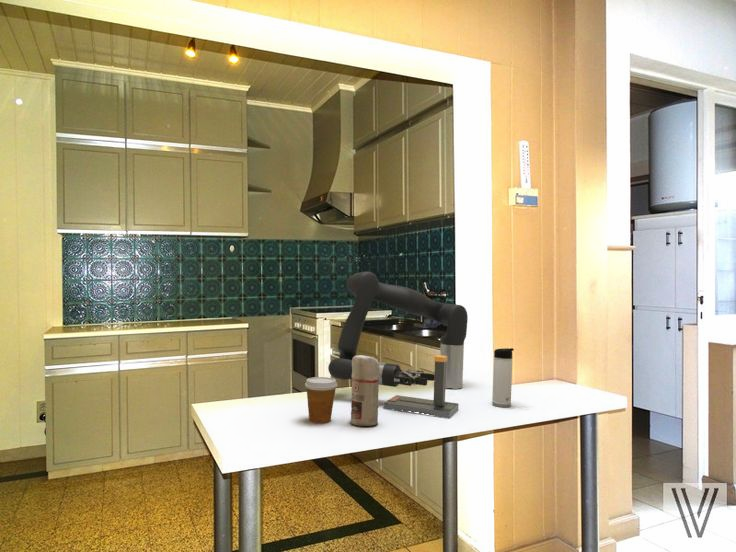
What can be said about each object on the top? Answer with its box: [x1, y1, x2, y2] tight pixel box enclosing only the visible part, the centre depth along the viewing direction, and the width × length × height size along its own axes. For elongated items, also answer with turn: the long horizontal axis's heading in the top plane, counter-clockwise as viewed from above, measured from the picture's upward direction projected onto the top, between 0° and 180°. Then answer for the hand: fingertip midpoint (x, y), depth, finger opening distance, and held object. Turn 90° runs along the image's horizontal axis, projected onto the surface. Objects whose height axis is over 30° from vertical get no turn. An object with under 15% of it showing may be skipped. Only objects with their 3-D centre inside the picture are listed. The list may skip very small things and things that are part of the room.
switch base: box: [383, 394, 460, 419], centre depth 163 cm, size 22×12×2 cm, turn 66°
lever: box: [433, 354, 447, 406], centre depth 160 cm, size 3×3×16 cm
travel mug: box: [491, 347, 514, 409], centre depth 171 cm, size 6×7×20 cm
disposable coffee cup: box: [304, 376, 338, 424], centre depth 146 cm, size 10×10×12 cm
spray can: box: [349, 354, 380, 427], centre depth 144 cm, size 8×8×20 cm
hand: (430, 379), depth 161 cm, fingers open, 8 cm apart
